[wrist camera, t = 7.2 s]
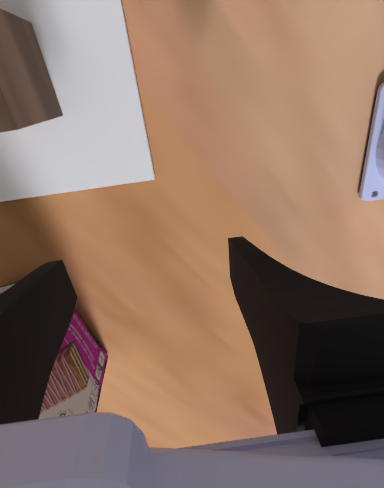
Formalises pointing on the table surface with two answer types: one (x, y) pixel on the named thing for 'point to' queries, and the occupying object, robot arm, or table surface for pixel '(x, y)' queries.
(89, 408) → the candy bar box
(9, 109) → the walnut block
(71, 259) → the table surface
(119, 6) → the pad
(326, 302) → the robot arm
